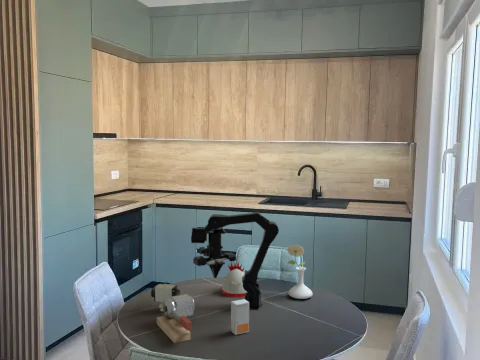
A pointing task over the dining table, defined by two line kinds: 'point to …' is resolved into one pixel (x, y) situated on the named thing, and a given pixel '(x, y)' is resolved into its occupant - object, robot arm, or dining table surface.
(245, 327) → the skincare box
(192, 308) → the cube on metal disc
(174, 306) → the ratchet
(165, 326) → the oak cradle
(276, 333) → the dining table surface
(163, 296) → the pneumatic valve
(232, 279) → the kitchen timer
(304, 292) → the flower in vase
